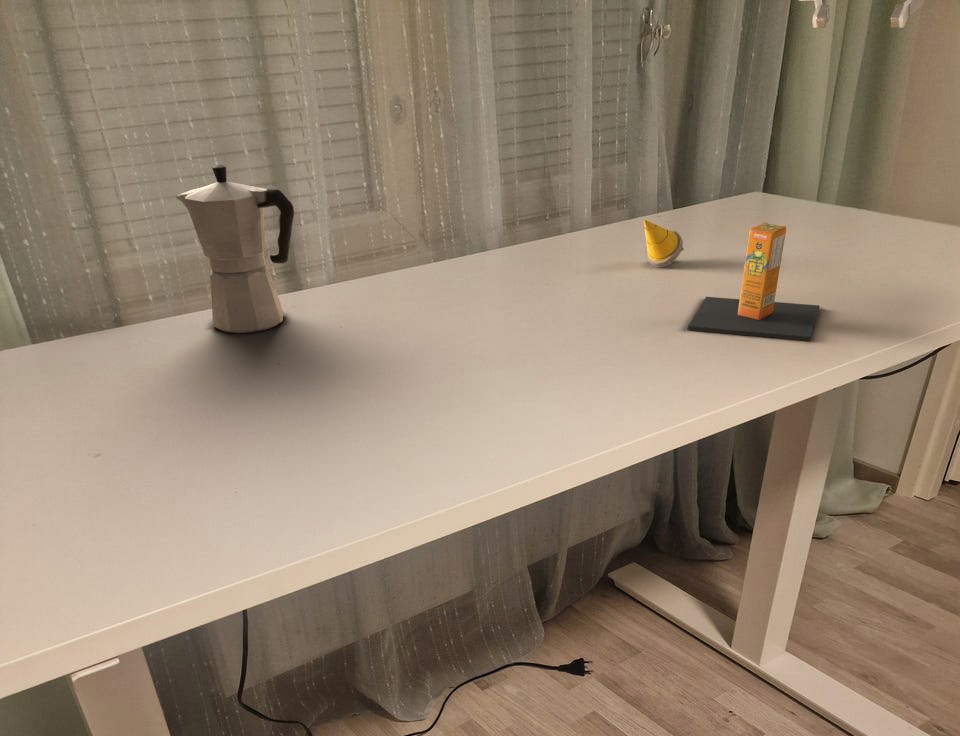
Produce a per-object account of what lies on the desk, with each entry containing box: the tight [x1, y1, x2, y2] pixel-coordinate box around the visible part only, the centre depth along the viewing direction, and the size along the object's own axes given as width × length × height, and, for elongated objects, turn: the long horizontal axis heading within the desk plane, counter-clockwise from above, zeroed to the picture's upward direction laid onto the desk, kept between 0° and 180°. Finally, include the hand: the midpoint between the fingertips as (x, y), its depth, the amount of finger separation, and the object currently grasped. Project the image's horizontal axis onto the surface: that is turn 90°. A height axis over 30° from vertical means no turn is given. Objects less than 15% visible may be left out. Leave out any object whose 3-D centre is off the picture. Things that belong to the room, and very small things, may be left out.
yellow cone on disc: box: [643, 219, 685, 268], centre depth 122 cm, size 5×5×10 cm
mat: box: [687, 296, 820, 342], centre depth 105 cm, size 14×12×1 cm
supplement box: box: [738, 222, 787, 320], centre depth 102 cm, size 3×3×10 cm
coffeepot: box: [175, 163, 295, 334], centre depth 105 cm, size 15×9×18 cm, turn 72°
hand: (856, 23), depth 106 cm, fingers open, 8 cm apart
